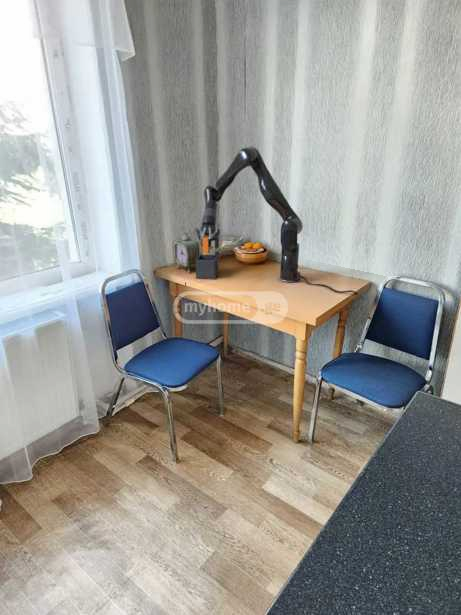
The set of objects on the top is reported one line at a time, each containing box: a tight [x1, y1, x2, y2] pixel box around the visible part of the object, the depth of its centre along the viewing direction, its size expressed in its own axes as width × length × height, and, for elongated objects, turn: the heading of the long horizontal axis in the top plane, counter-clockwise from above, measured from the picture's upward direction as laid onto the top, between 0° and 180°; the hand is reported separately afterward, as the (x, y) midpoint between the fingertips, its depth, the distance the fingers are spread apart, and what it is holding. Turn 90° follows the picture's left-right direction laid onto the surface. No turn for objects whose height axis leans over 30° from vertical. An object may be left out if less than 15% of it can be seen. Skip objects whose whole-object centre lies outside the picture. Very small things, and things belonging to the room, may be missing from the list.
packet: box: [202, 237, 210, 255], centre depth 213 cm, size 3×5×8 cm, turn 171°
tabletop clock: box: [172, 226, 200, 274], centre depth 225 cm, size 14×9×25 cm, turn 43°
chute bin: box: [195, 254, 219, 280], centre depth 218 cm, size 10×10×11 cm
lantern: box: [202, 234, 220, 261], centre depth 246 cm, size 10×10×14 cm
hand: (205, 246), depth 211 cm, fingers closed on packet, 3 cm apart
